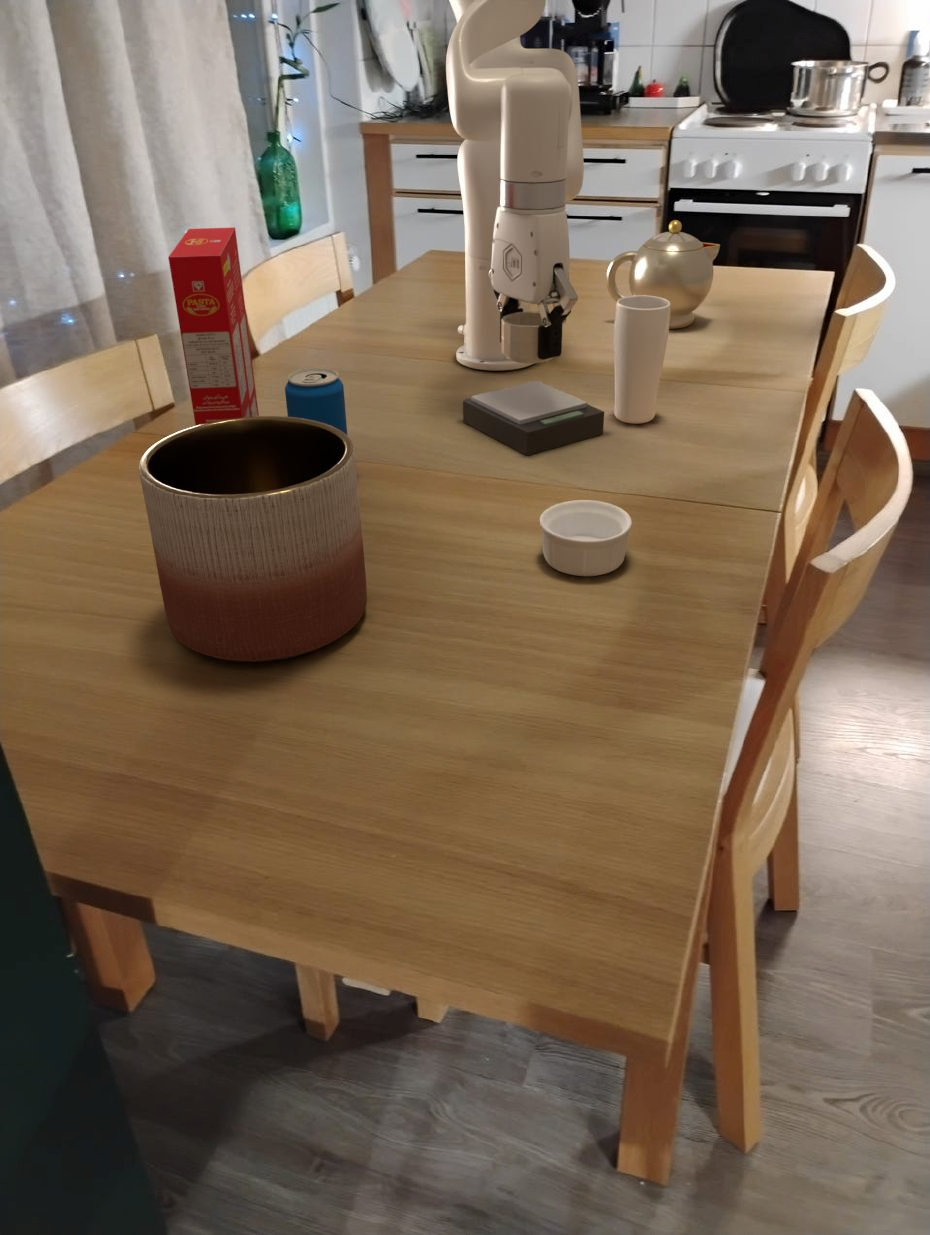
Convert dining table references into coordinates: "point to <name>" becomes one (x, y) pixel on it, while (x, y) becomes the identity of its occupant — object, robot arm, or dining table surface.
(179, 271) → the food packaging
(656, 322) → the drinking glass
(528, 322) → the bowl
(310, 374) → the beverage can
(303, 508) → the planter
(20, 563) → the dining table surface
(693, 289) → the teapot
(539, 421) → the scale
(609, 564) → the ramekin
